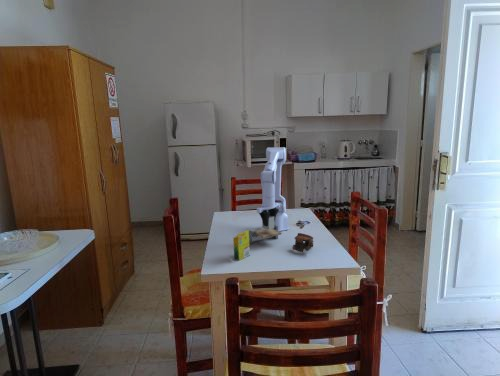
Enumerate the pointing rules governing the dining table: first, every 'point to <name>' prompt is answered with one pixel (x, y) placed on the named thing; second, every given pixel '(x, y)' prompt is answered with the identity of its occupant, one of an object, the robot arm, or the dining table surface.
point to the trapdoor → (264, 232)
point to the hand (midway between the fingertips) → (268, 224)
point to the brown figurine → (303, 245)
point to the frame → (261, 237)
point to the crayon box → (241, 245)
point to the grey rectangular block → (269, 223)
